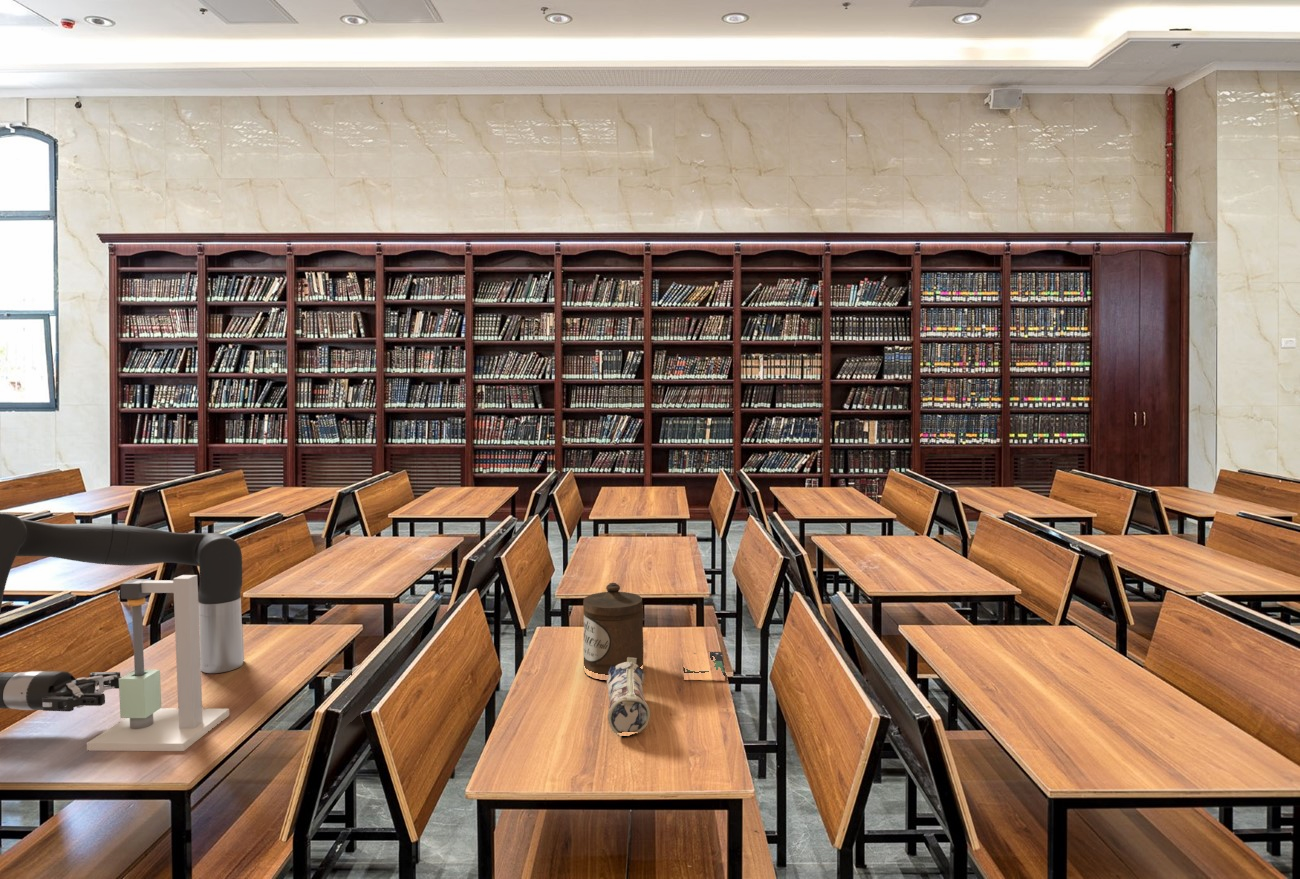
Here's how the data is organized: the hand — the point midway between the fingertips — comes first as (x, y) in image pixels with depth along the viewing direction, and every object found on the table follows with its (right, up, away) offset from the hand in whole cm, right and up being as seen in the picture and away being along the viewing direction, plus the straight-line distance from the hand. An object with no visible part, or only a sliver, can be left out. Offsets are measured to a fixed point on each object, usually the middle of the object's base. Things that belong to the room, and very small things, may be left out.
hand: (119, 690), depth 155 cm
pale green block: (+4, -4, 0) cm, 6 cm away
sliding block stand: (+8, -9, 0) cm, 12 cm away
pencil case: (+103, -9, +8) cm, 103 cm away
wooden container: (+98, -7, +35) cm, 105 cm away
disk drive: (+121, -7, +36) cm, 126 cm away
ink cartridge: (+40, -8, +12) cm, 43 cm away
